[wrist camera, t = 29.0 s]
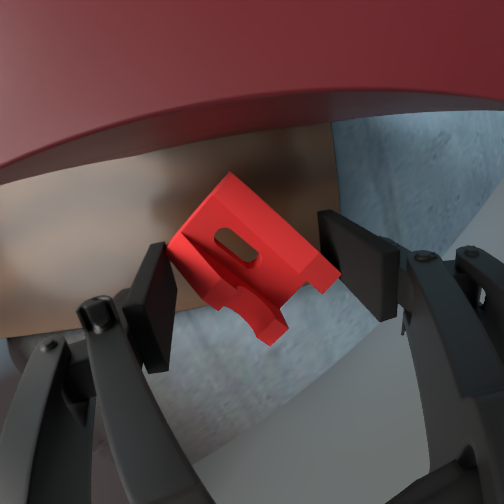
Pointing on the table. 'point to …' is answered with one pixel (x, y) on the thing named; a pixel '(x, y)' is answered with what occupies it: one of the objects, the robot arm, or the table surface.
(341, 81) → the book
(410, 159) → the table surface
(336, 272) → the bracket
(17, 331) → the stand
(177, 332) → the table surface
